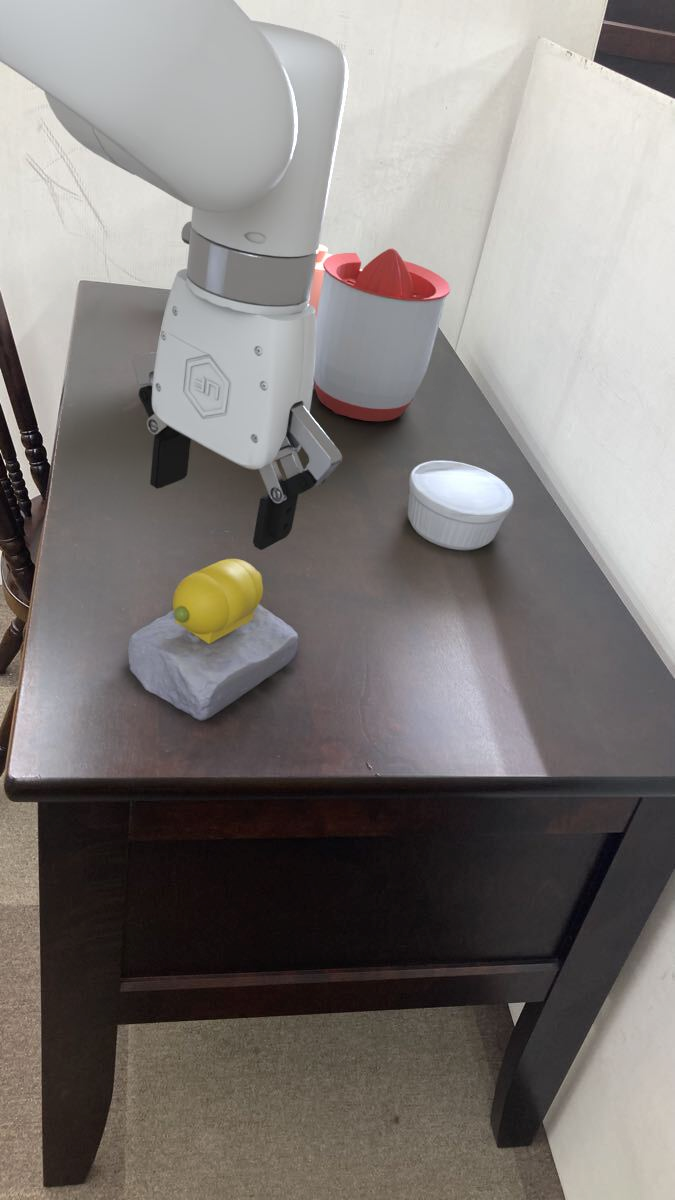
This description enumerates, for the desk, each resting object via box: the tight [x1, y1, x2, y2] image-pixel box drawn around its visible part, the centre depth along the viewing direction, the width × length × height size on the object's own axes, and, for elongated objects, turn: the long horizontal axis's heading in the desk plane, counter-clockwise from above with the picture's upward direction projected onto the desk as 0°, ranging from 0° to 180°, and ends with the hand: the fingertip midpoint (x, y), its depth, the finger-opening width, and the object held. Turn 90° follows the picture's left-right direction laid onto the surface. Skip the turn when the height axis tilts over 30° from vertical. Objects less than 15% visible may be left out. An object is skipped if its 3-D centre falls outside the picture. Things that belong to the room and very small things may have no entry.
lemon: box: [172, 558, 264, 644], centre depth 69 cm, size 10×5×5 cm, turn 144°
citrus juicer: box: [313, 247, 451, 422], centre depth 112 cm, size 16×17×20 cm
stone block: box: [127, 604, 299, 722], centre depth 71 cm, size 12×5×10 cm
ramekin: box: [407, 460, 515, 551], centre depth 95 cm, size 11×11×5 cm
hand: (218, 511), depth 63 cm, fingers open, 9 cm apart
